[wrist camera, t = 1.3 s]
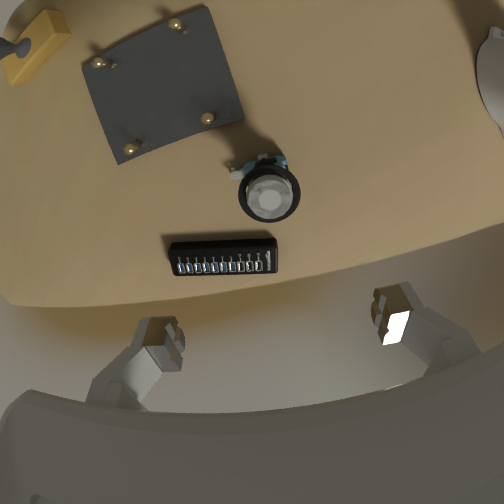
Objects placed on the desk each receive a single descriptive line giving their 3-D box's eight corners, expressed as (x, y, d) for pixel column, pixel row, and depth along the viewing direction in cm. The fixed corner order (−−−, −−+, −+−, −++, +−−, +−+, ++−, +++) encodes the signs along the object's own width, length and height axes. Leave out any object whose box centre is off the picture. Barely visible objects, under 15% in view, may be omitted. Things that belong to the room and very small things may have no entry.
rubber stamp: (26, 83, 22) (-35, 100, 12) (16, 57, 19) (-44, 69, 9) (72, 35, 19) (7, 33, 10) (60, 9, 16) (-1, 3, 7)
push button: (238, 193, 33) (232, 236, 24) (225, 152, 30) (213, 181, 21) (292, 181, 32) (306, 221, 23) (283, 138, 29) (296, 163, 21)
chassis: (208, 8, 20) (203, 0, 17) (245, 117, 27) (244, 121, 25) (85, 67, 22) (69, 68, 19) (121, 162, 30) (109, 172, 27)
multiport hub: (170, 241, 37) (166, 250, 35) (276, 236, 37) (278, 246, 35) (177, 266, 40) (173, 276, 38) (276, 263, 39) (277, 273, 37)
